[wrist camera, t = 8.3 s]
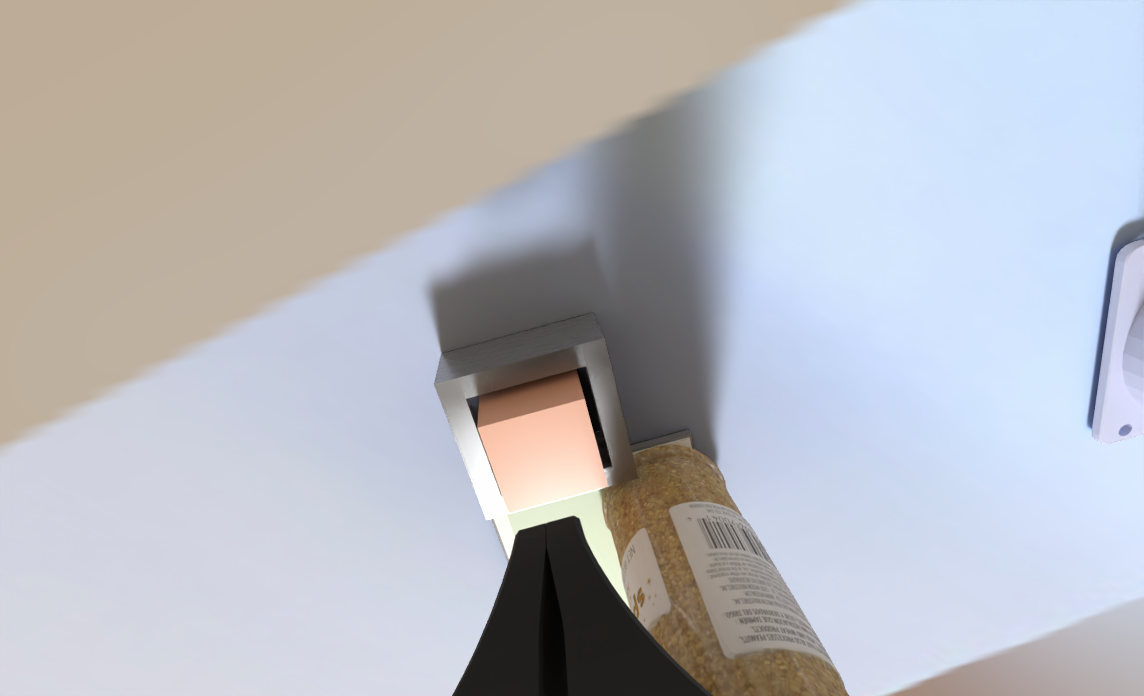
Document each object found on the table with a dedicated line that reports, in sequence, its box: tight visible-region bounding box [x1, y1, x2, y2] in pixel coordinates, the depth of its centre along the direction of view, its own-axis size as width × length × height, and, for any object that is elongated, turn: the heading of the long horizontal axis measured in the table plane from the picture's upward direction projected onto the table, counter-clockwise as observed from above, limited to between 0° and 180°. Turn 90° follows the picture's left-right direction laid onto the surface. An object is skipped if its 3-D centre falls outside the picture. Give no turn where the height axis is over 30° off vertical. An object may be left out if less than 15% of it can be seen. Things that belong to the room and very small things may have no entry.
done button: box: [477, 369, 608, 514], centre depth 17 cm, size 3×3×2 cm
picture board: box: [492, 429, 694, 609], centre depth 22 cm, size 8×8×1 cm
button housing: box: [434, 313, 638, 520], centre depth 19 cm, size 5×5×2 cm
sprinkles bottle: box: [602, 445, 849, 696], centre depth 15 cm, size 5×5×13 cm
